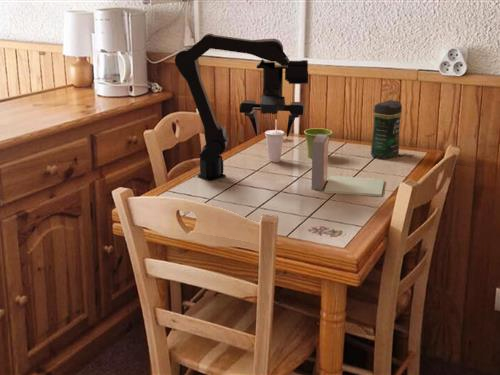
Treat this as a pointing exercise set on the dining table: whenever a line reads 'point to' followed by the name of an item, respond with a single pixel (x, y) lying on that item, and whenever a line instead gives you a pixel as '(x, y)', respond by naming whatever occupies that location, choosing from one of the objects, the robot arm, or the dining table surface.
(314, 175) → the slate tile
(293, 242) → the dining table surface
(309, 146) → the plant pot
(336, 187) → the pad
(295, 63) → the robot arm
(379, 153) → the coffee jar
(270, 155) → the smoothie
